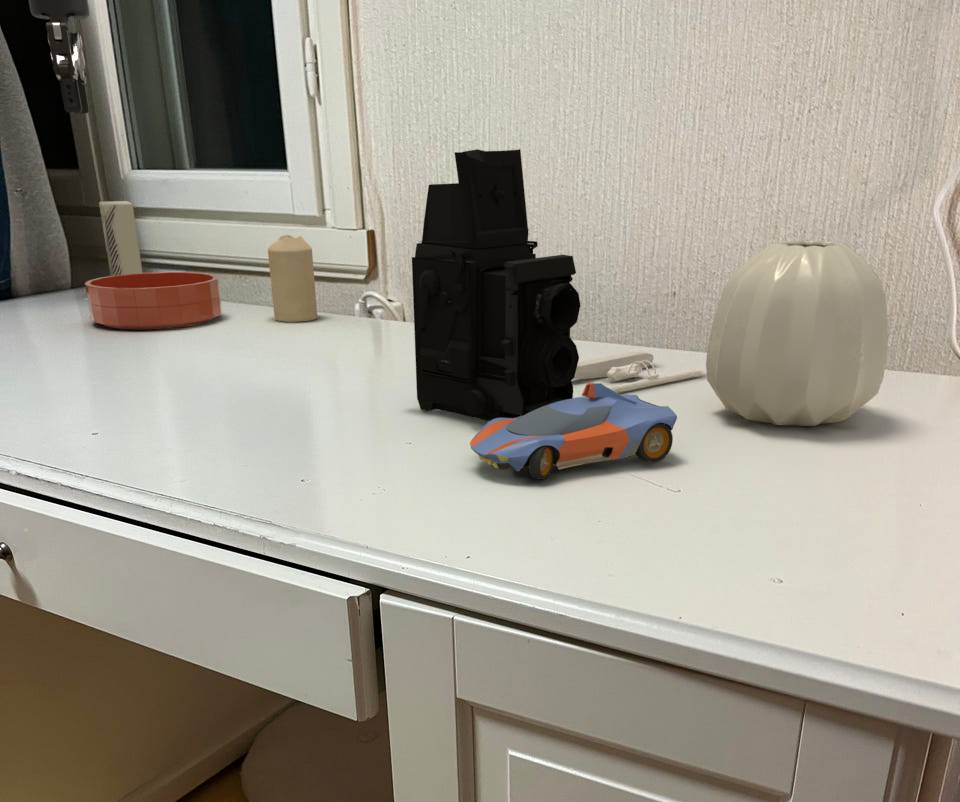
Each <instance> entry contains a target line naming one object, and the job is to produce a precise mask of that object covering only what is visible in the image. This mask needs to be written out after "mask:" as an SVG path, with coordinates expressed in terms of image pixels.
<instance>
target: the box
mask: <svg viewBox="0 0 960 802" xmlns="http://www.w3.org/2000/svg"><path fill="white" fill-rule="evenodd" d="M98 204H99V210H100V217H101V224H102V230H103V236H104V243H105V248H106V249H105V251H106V254H107V256H106V257H107V262H108V268H109V276H114V275H124V274H135V273H143V266H142V259H141V253H140V246H139V237H138V232H137V226H136V225H137V224H136V217H135V212H134V207H133V206H134V205H133V203H132V202H131V201H127V200H114V201H113V200H112V201H111V200H109V201H107V200H105V201H99V202H98Z"/></svg>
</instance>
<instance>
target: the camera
mask: <svg viewBox="0 0 960 802" xmlns="http://www.w3.org/2000/svg"><path fill="white" fill-rule="evenodd" d="M454 159H455V160H454V161H455V167H456V174H457V175H456V176H457V181H458V182H457V183H454V182H453V183H434V184H433V183H432V184H431V183H429V184H428V188H427V195H426V202H425V211H424V216H423V217H424V218H423V219H424V220H423V226H422V227H423V228H422V238H421V240H419V242H416V245H415V253H414V256H411V272H412V273H411V275H412V303H413V326H414V327H413V331H414V352H415V353H414V354H415V356H414V357H415V358H414V359H415V379H416V380H415V381H416V382H415V383H416V399H417V402H418V405H419V408H420V410H421V411H424V412H432V411H436V410H438V411H443V412H446V413H450V414H451V413H452V414H456V415H460V416H465V417H469V418H473V419H477V420H483V421H487V422H489V421H491V420H493V419H495V418H518V417H522V416H523V415H525V414H527V413H529V412H531V411H533V410H536V409H538V408H540V407H543V406H546V405H549V404H552V403H555V402H558V401H562V400H567V399H572V398H574V397H573V396H574V384H573V380H574V379H573V378H574V376H575V372H576V368H577V364H578V362H579V360H580V355H579V352H578V347H577V345H576V343H575V342H574V340H573V339H572V337H571V328H572V327H574V325H576V324H577V323H578V319H579V315H580V310H581V300H580V295H579V294H580V293H579V292H578V291H577V289H576V288H575V287H574V286H573V285H572V284H571V282H573V280H574V279H573V277H572V276H574V275H575V274H577V271H576V270H577V269H576V265H575V260H574V256H573V255H568V254H557V255H549V256H542V257H537V254H536V253H534V250H535V249H536V248H538V246H539V245H538V244H539V243H538V241H536V240H529V225H528V215H527V203H526V193H525V182H524V173H523V172H524V171H523V161H522V151H521V148H519V149H507V150H506V149H505V150H481V149H478V148H477V149H470V150H464V151H455V152H454Z"/></svg>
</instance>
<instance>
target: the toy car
mask: <svg viewBox="0 0 960 802" xmlns="http://www.w3.org/2000/svg"><path fill="white" fill-rule="evenodd" d="M607 387H608V386H606V385H604V384H603V383H600V382H587V383H586V384H585V386H584V389H583V392H582V394H581V396H578V397H573V398H572V399H567V400H562V401H558V402H555V403H552V404H549V405H546V406H543V407H540V408H538V409H536V410H533V411H531V412H529V413H527V414H525V415H523V416H520V417H516V418H495V419H493V420H491V421H487V423H486V424H484V425H483V426H482V427H481V429H480V430H479V431H478V432H477V433H476V434H475V435H474V436H473V438H472V439H470V442H469V445H470V449H471V450H472V451H473V452H474V453H475V454H477V455H478V457H479V459H480V461H483V462H484V463H486V464H488V465H490V466H492V465H493V467H494V468H495V469H500V470H513V471H515V472H517V473H518V472H520V471H521V469H523V468H527V467H528V471H529V474H530V476H531V477H532V478H534V479H536V480H537V479H538V480H545V479H547V478H548V477H549V476H550V474H551V472H552V470H553V467H554V466H555V467H557V469H558V470H563V469H568V468H572V467H576V466H582V465H587V464H592V463H600V462H605V461H612V460H619V459H620V460H621V459H624V458H627V457H631V456H636V457H637V458H638V459H639V460H642V461H644V462H646V463H647V462H648V463H658V462H661V461H663V460H664V459H665V458H666V457H667V456H668V454H669V453H670V452H671V449H672V446H673V442H674V441H673V439H674V438H673V436H674V435H673V432H672V430H673V429H674V427H675V424H676V421H677V420H678V415H677V414H676V413H675V411H674V410H673V409H672V408H671V407H669V406H668V405H665V406H660V405H658V404H657V405H656V404H654V403H651V402H648V401H645V400H643V399H641V398H639V396H638V395H637V394H620V393H616V392H614V391H612V390H611V389H609V388H607Z"/></svg>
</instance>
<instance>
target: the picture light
mask: <svg viewBox="0 0 960 802" xmlns="http://www.w3.org/2000/svg"><path fill="white" fill-rule="evenodd" d="M643 361H646V362H648V363H650V366H651V367H652V368H653V372H654V374H651V372H650V369H649V368H648V367H647V366H646V365H645V364H644V363H643ZM638 362H639V363H638ZM635 363H638V364H635ZM640 363H642V364H643V365H644V366H645V367H646V368H645V369H646V370H647V374H648V375H646V379H643V380H642V379H641V380H637V381H633V382H627V383H623V384H618V385H613V386H606V387H607V388H609V389H611V390H612V391H614V392H616V393H618V394H620V393H623V392H628V391H632V390H637V389H643V388H649V387H652V386H657V385H661V384H666V383H672V382H675V381H676V382H677V381H681V380H687V379H690V378H697V377H699V376H701V375H702V374H703V373H704V370H701V369H698V368H697V369H694V368H693V369H691V370H687V371H682V372H679V373H678V372H677V373H672V374H668V375H662V376H660V375H659V373H657V371H656V368H655V366H654V364H653V362H652V363H651V362H649V361H647V360H642V361H636V362H634V363H631V364H630V365H627V366H621V367H612V368H611V369H610V371H608V372H607V376H606V377H607V378H609V379H610V380H611V381H615V382H618V381H620V380H622V379H628V378H632V377H634V378H637V377H639V375H640V374H641V373H642V372H643V368H642V367H640V366H639V364H640Z"/></svg>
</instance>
